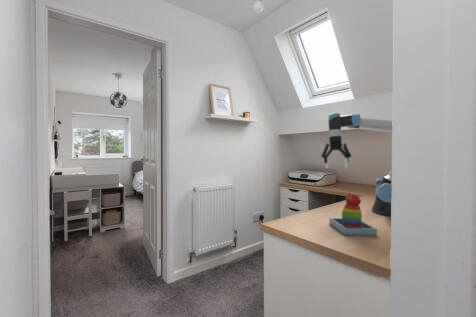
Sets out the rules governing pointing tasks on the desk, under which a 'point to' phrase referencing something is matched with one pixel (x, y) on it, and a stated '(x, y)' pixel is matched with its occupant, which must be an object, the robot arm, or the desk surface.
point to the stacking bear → (352, 212)
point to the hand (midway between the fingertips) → (336, 167)
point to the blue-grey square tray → (365, 231)
